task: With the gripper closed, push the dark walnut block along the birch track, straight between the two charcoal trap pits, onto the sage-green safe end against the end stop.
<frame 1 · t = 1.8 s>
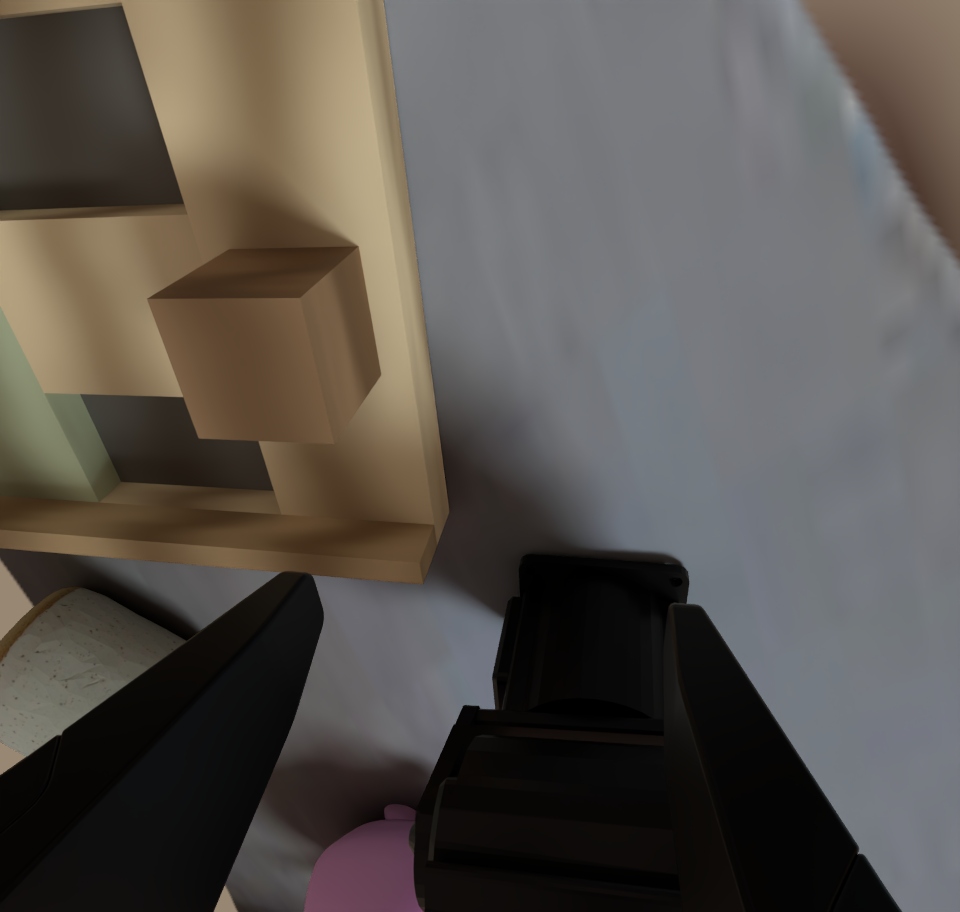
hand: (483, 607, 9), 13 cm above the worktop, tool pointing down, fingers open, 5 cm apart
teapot: (435, 851, 43), on the worktop
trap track: (144, 292, 23), on the worktop
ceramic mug: (141, 638, 35), on the worktop
walnut block: (308, 314, 20), point 2 cm above the worktop, touching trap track
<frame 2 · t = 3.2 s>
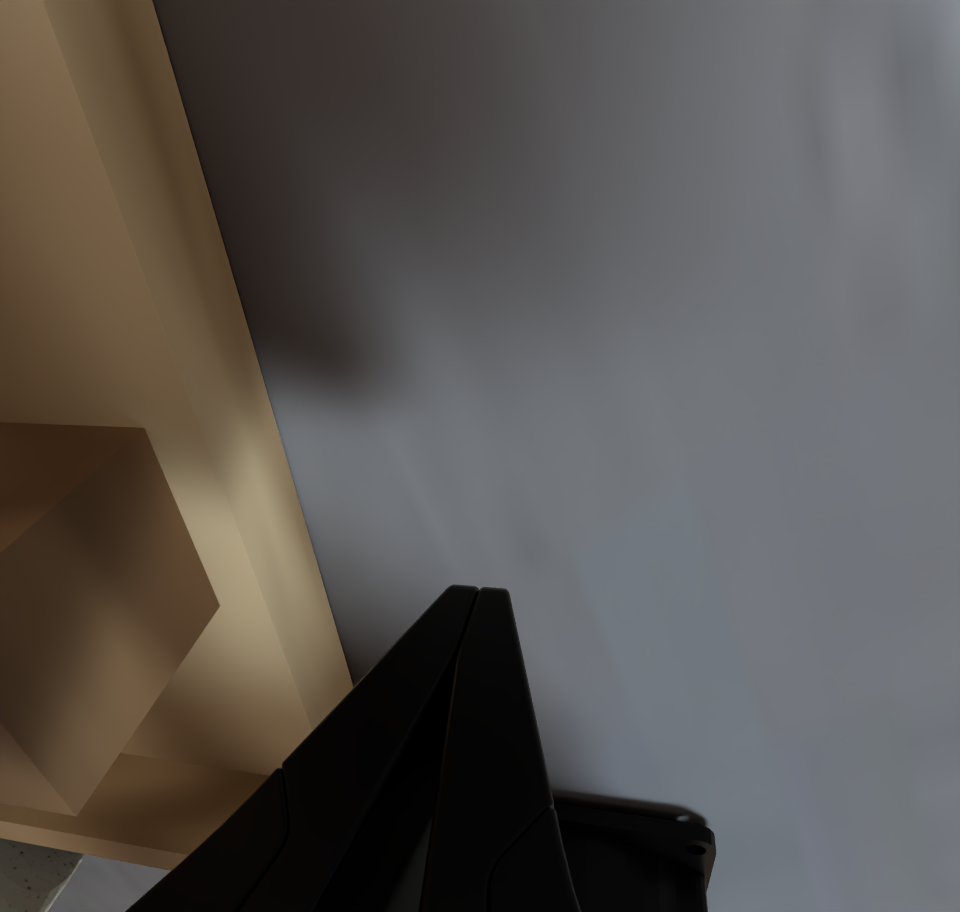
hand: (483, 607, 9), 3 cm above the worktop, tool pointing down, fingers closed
walnut block: (87, 518, 12), point 2 cm above the worktop, touching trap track
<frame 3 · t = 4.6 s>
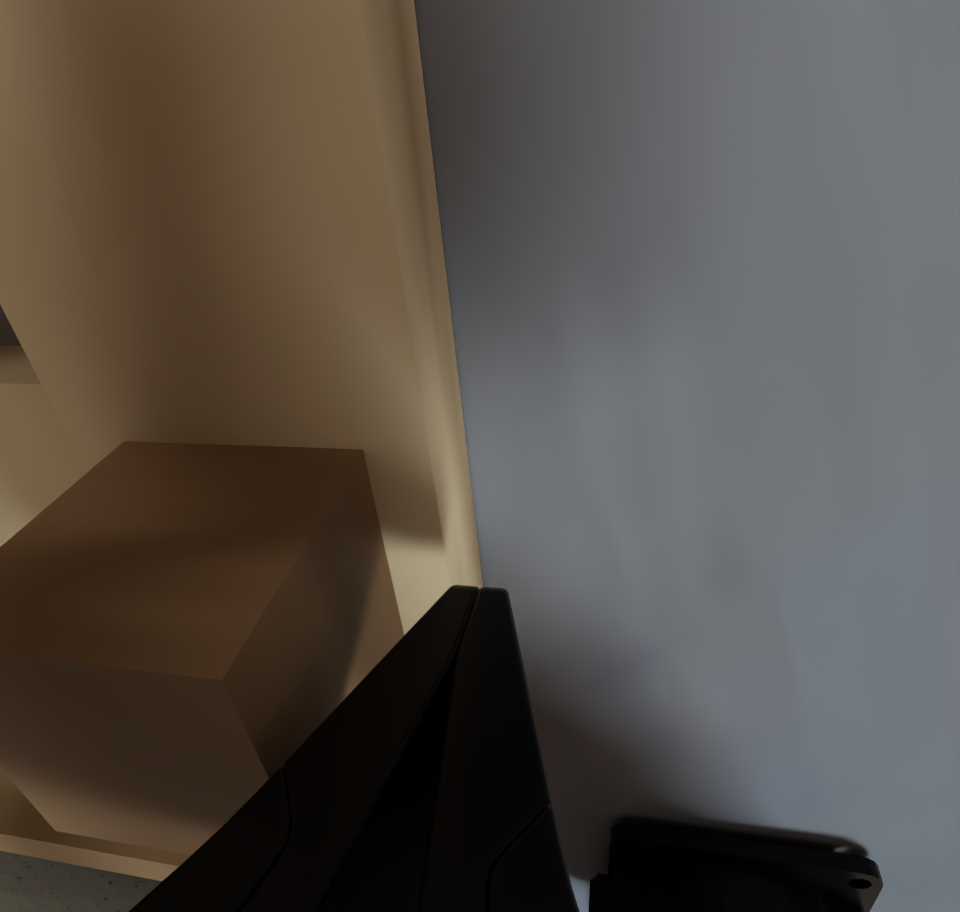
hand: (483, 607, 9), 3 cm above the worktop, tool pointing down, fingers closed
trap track: (16, 462, 14), on the worktop
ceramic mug: (76, 847, 27), on the worktop
walnut block: (273, 544, 11), point 2 cm above the worktop, touching gripper, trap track
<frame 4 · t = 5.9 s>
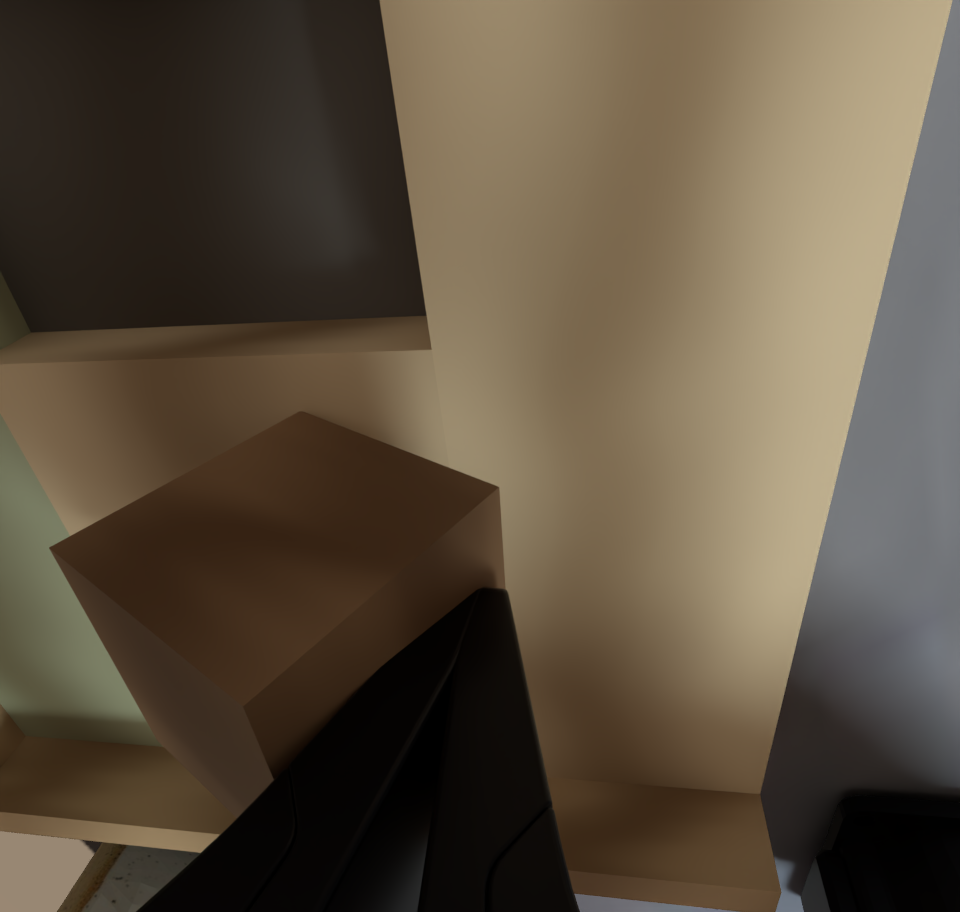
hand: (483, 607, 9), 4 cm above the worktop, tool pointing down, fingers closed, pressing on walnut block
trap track: (284, 448, 14), on the worktop
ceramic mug: (209, 867, 26), on the worktop
walnut block: (406, 547, 11), point 3 cm above the worktop, tilted 29°, touching gripper, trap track
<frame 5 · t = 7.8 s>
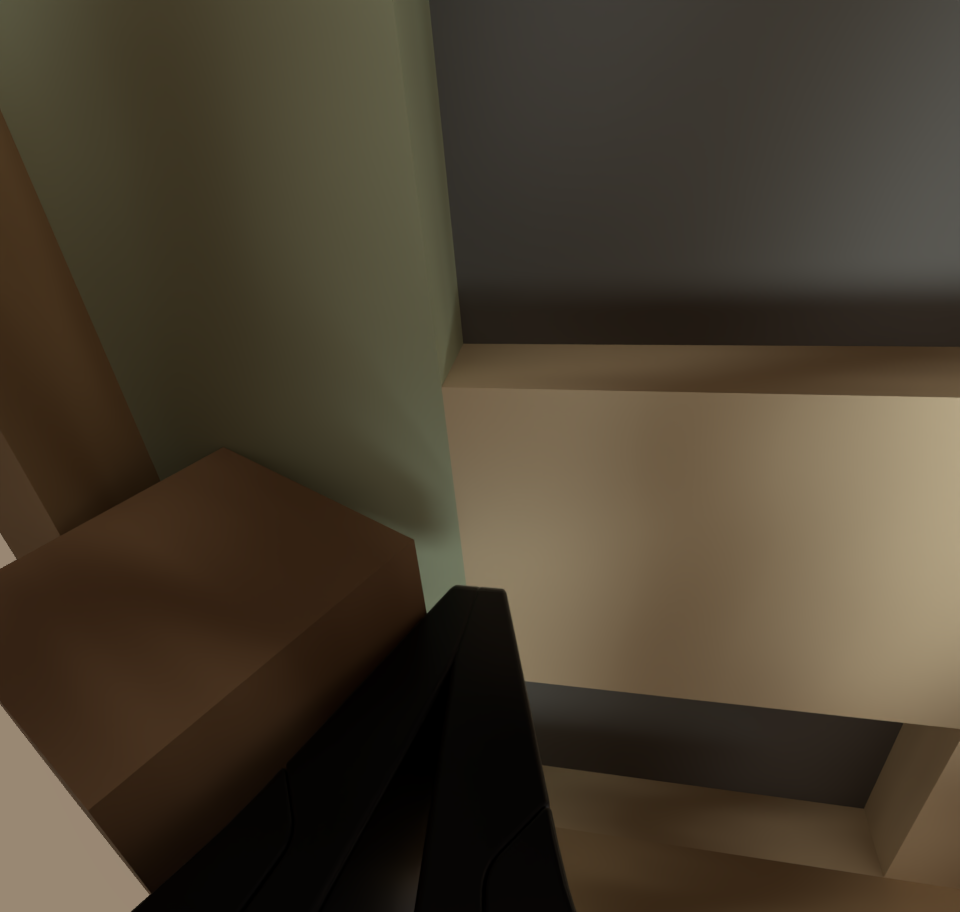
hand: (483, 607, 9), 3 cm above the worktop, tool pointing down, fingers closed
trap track: (713, 492, 11), on the worktop
walnut block: (335, 591, 10), point 3 cm above the worktop, tilted 27°, touching gripper, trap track
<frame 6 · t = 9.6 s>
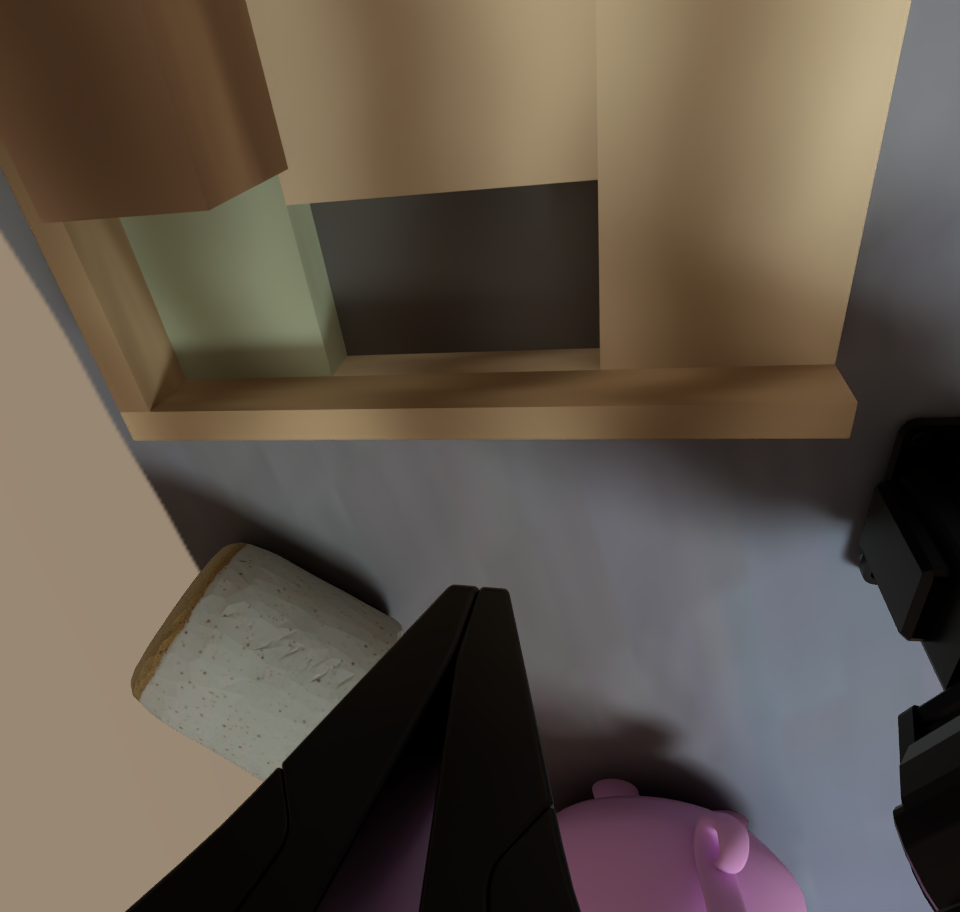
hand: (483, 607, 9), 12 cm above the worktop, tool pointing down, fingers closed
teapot: (643, 834, 36), on the worktop
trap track: (434, 46, 16), on the worktop
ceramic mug: (303, 608, 30), on the worktop
walnut block: (189, 87, 16), point 2 cm above the worktop, touching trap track
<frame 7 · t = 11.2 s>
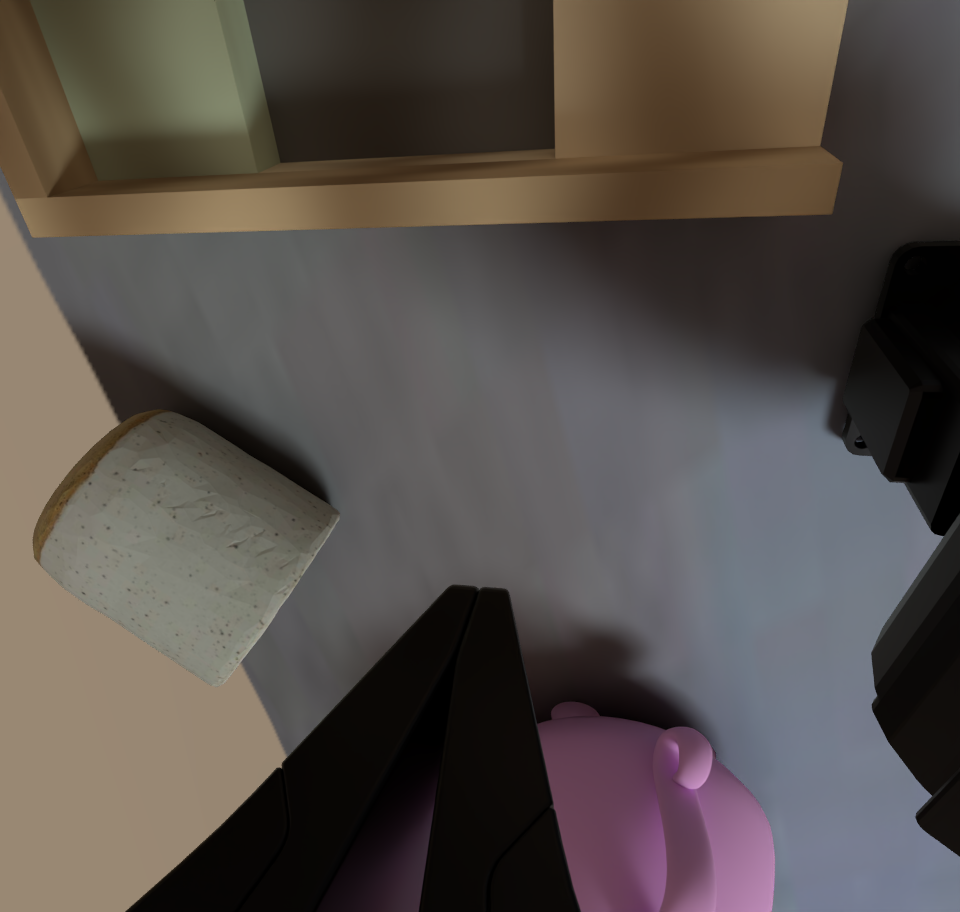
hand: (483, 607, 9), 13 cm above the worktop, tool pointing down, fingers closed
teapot: (605, 769, 34), on the worktop
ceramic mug: (240, 500, 28), on the worktop
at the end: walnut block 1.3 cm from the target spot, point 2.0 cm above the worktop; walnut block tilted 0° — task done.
